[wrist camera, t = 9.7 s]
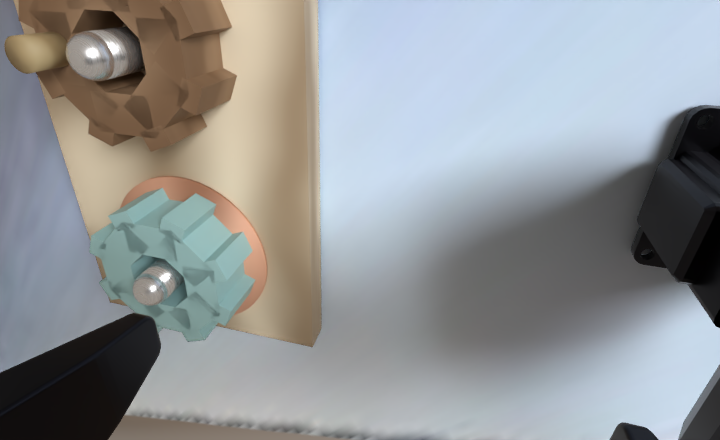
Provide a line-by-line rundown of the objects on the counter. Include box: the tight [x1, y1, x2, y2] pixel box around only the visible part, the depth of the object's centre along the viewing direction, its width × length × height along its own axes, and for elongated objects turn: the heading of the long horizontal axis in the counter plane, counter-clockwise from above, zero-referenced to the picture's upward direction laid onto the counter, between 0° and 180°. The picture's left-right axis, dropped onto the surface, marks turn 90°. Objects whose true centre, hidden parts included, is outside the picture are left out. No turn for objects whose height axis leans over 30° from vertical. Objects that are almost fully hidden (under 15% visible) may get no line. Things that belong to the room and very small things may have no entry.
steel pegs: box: [65, 26, 185, 306], centre depth 18 cm, size 2×12×4 cm, turn 178°
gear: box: [5, 0, 237, 152], centre depth 16 cm, size 7×7×4 cm
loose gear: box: [89, 188, 255, 342], centre depth 21 cm, size 7×7×2 cm
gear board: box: [14, 0, 321, 347], centre depth 20 cm, size 13×20×2 cm, turn 178°
